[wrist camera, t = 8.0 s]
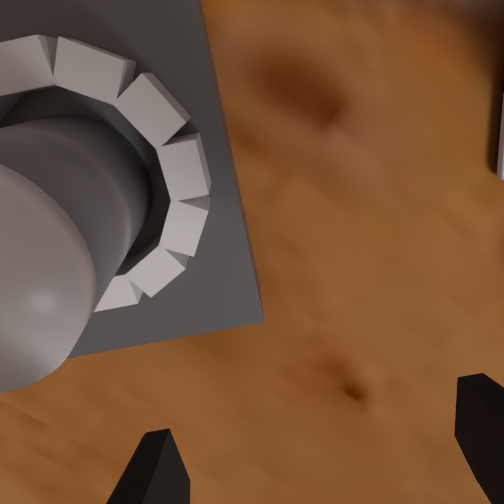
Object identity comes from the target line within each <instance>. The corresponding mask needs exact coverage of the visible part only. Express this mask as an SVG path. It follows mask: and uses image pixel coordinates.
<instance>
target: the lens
mask: <svg viewBox="0 0 504 504" xmlns="http://www.w3.org/2000/svg"><path fill="white" fill-rule="evenodd" d="M151 204H152V185H151V179H150V176H149V173H148V169H147V167H146V165H145V163H144V161H143V159H142V157H141V156H140V154H139V153H138V151H137V150H136V149H135V147H134V146H133V145H132V144H131V143H130V142H129V141H128V140H127V139H126V138H125V137H124V136H123V135H122V134H121V133H119V132H118V131H117V130H115V129H114V128H112V127H110V126H109V125H107V124H105V123H103V122H101V121H99V120H96V119H93V118H90V117H87V116H82V115H75V114H61V115H54V116H49V117H45V118H41V119H36V120H32V121H28V122H24V123H19V124H15V125H11V126H7V127H2V128H0V393H3V392H8V391H13V390H17V389H20V388H23V387H26V386H29V385H31V384H33V383H35V382H37V381H39V380H41V379H43V378H44V377H46V376H47V375H49V374H50V373H52V372H53V371H54V370H55V369H56V368H58V367H59V366H60V365H61V364H62V363H63V361H64V360H65V359H66V358H67V357H68V355H69V354H70V352H71V351H72V349H73V347H74V345H75V344H76V342H77V340H78V338H79V337H80V335H81V333H82V332H83V330H84V328H85V326H86V325H87V323H88V321H89V319H90V318H91V316H92V314H93V312H94V311H95V309H96V307H97V305H98V304H99V302H100V300H101V298H102V297H103V295H104V293H105V291H106V290H107V288H108V286H109V284H110V283H111V281H112V279H113V277H114V276H115V274H116V272H117V270H118V269H119V267H120V265H121V263H122V262H123V260H124V258H125V256H126V255H127V253H128V251H129V249H130V248H131V246H132V244H133V243H134V241H135V239H136V237H137V236H138V234H139V232H140V230H141V229H142V227H143V225H144V223H145V222H146V220H147V217H148V215H149V212H150V208H151Z"/></svg>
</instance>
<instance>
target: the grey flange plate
mask: <svg viewBox="0 0 504 504" xmlns="http://www.w3.org/2000/svg"><path fill="white" fill-rule="evenodd" d="M61 114H75V115H82V116H87V117H90V118H93V119H96V120H99V121H101V122H103V123H105V124H107V125H109V126H110V127H112V128H114V129H115V130H117V131H118V132H119V133H121V134H122V135H123V136H124V137H125V138H126V139H127V140H128V141H129V142H130V143H131V144H132V145H133V146H134V147H135V149H136V150H137V151H138V153H139V154H140V156H141V157H142V159H143V161H144V163H145V165H146V167H147V169H148V173H149V176H150V179H151V185H152V204H151V208H150V212H149V215H148V217H147V220H146V222H145V223H144V225H143V227H142V229H141V230H140V232H139V234H138V236H137V237H136V239H135V241H134V243H133V244H132V246H131V248H130V249H129V251H128V253H127V255H126V256H125V258H124V260H123V262H122V263H121V265H120V267H119V269H118V270H117V272H116V274H115V276H114V277H113V279H112V281H111V283H110V284H109V286H108V288H107V290H106V291H105V293H104V295H103V297H102V298H101V300H100V302H99V304H98V305H97V307H96V309H95V311H94V312H93V314H92V316H91V318H90V319H89V321H88V323H87V325H86V326H85V328H84V330H83V332H82V333H81V335H80V337H79V338H78V340H77V342H76V344H75V345H74V347H73V349H72V351H71V352H70V354H69V355H68V357H67V358H71V357H77V356H82V355H88V354H93V353H98V352H104V351H109V350H115V349H120V348H125V347H131V346H136V345H142V344H147V343H152V342H158V341H163V340H169V339H174V338H179V337H185V336H190V335H196V334H201V333H206V332H212V331H217V330H223V329H228V328H233V327H239V326H244V325H250V324H255V323H260V322H264V316H263V308H262V301H261V293H260V285H259V281H258V276H257V271H256V266H255V261H254V257H253V252H252V247H251V242H250V237H249V233H248V228H247V223H246V218H245V213H244V209H243V204H242V199H241V194H240V189H239V185H238V180H237V175H236V170H235V165H234V160H233V156H232V151H231V146H230V141H229V136H228V132H227V127H226V122H225V117H224V112H223V108H222V103H221V98H220V93H219V88H218V84H217V79H216V74H215V69H214V64H213V60H212V55H211V50H210V45H209V40H208V36H207V31H206V26H205V21H204V16H203V11H202V7H201V2H200V0H0V128H2V127H7V126H11V125H15V124H19V123H24V122H28V121H32V120H36V119H41V118H45V117H49V116H54V115H61Z"/></svg>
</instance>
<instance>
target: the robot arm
mask: <svg viewBox="0 0 504 504" xmlns="http://www.w3.org/2000/svg"><path fill="white" fill-rule="evenodd" d="M497 176H498V178H499V179H501V180H503V181H504V94H503V106H502V118H501V129H500V141H499V153H498V164H497ZM455 437H456V440H457V442H458V444H459V446H460V448H461V450H462V452H463V454H464V456H465V458H466V460H467V462H468V464H469V466H470V468H471V470H472V472H473V474H474V476H475V478H476V480H477V481H478V483H479V485H480V486H481V488H482V489H483V491H484V493H485V494H486V496H487V497H488V499H489V501H490V502H491V504H504V388H503V387H502V386H501V385H499V384H498V383H496V382H495V381H493V380H492V379H491V378H489V377H488V376H486V375H485V374H484V373H480V374H475V375H469V376H463V377H458V381H457V399H456V418H455ZM106 504H190V479H189V476H188V474H187V471H186V469H185V466H184V464H183V461H182V459H181V456H180V454H179V451H178V449H177V446H176V444H175V441H174V439H173V436H172V434H171V431H170V429H164V430H158V431H152V432H147V433H145V435H144V436H143V437H142V439H141V441H140V443H139V445H138V447H137V449H136V450H135V452H134V454H133V456H132V458H131V460H130V462H129V463H128V465H127V467H126V469H125V471H124V473H123V474H122V476H121V478H120V480H119V482H118V483H117V485H116V487H115V489H114V491H113V492H112V494H111V496H110V498H109V499H108V501H107V503H106Z"/></svg>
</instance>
